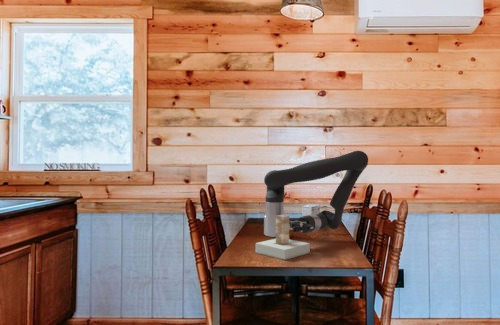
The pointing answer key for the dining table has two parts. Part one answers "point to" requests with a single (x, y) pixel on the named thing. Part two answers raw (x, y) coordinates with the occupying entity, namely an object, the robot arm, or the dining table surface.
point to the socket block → (282, 249)
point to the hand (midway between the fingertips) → (285, 228)
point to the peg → (282, 230)
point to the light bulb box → (310, 209)
